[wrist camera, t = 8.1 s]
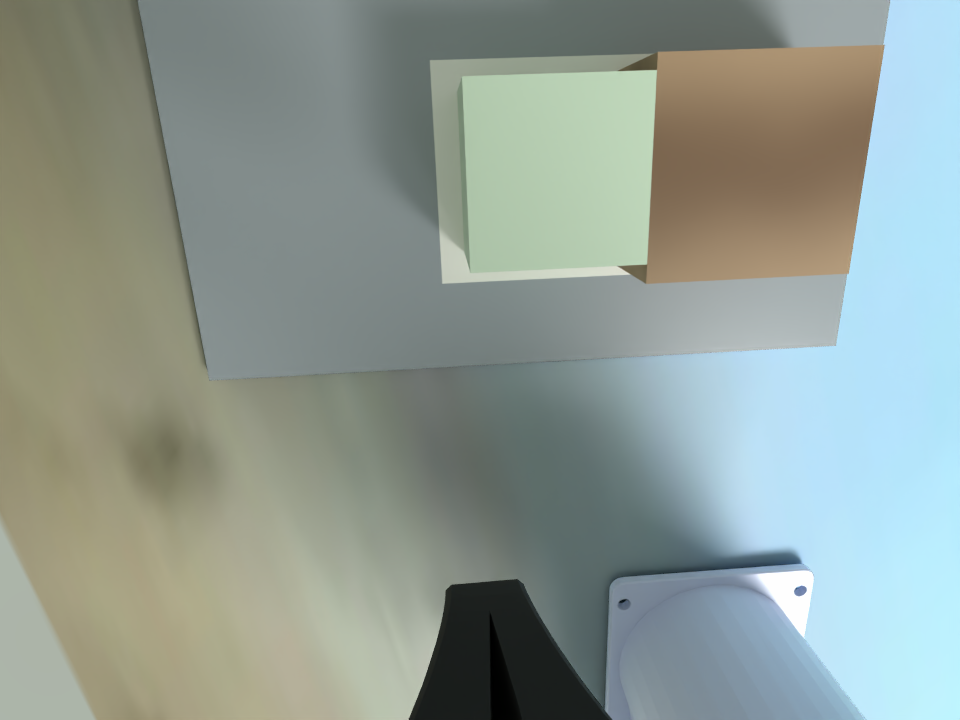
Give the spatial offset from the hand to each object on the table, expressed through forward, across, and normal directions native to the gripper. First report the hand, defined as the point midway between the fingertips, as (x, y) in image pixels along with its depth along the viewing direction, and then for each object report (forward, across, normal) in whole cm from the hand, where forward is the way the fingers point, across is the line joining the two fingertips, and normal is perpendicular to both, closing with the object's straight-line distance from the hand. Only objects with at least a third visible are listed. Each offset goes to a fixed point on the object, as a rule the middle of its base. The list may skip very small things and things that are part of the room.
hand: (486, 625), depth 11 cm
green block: (+10, -3, -8) cm, 13 cm away
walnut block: (+10, -8, -7) cm, 15 cm away
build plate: (+10, -2, -7) cm, 13 cm away
